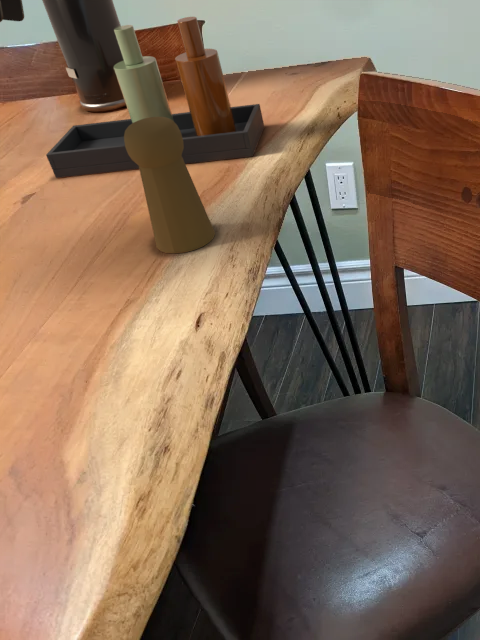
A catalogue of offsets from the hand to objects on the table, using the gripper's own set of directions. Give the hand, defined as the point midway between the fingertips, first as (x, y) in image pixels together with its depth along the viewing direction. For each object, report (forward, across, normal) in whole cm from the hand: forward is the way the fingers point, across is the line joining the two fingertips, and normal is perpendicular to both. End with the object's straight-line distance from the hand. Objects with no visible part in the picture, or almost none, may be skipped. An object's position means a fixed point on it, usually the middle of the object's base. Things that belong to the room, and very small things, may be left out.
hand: (12, 6), depth 58 cm
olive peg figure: (+13, -1, +18) cm, 22 cm away
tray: (+10, +26, +14) cm, 31 cm away
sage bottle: (+10, +26, +13) cm, 31 cm away
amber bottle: (+17, +24, +12) cm, 31 cm away
